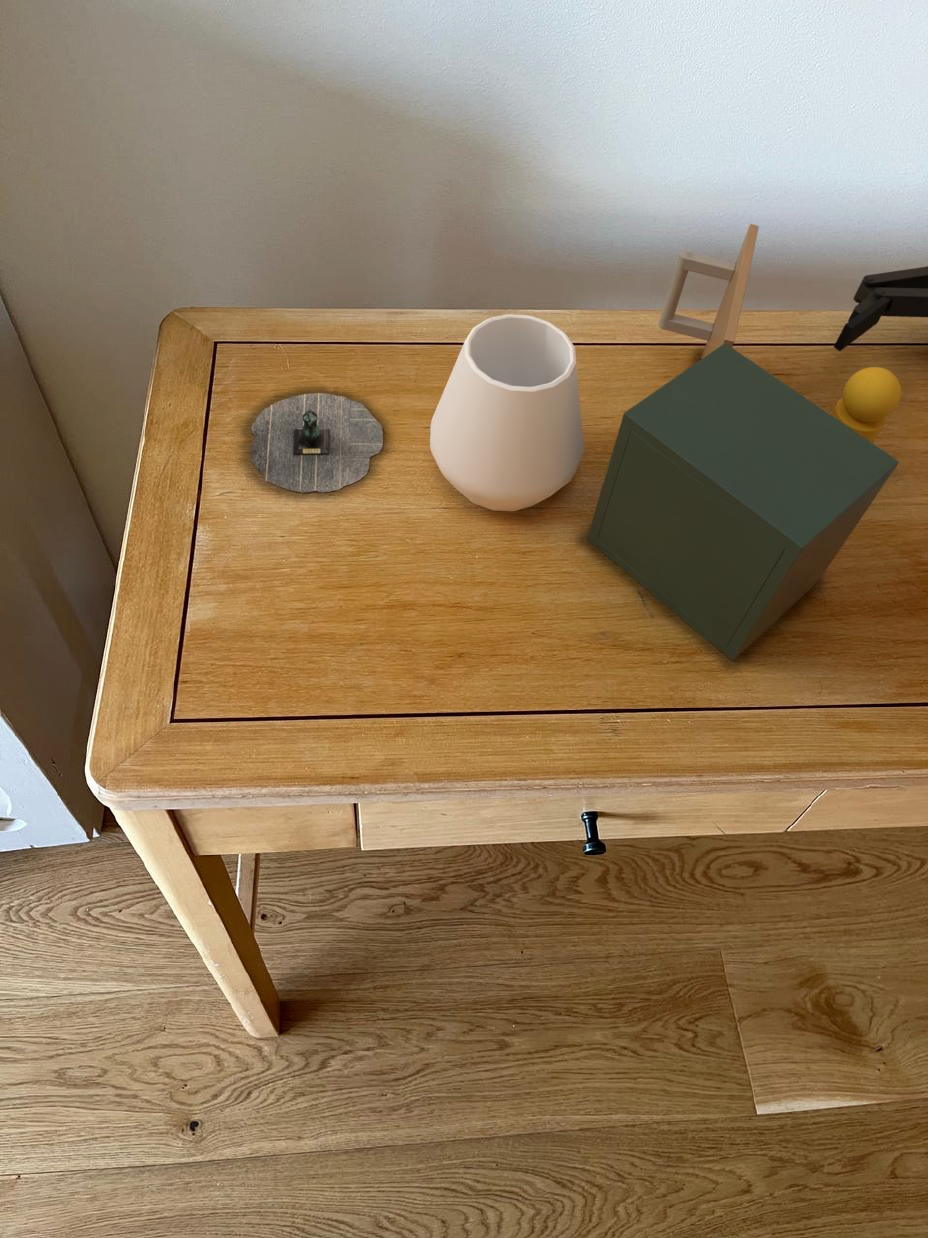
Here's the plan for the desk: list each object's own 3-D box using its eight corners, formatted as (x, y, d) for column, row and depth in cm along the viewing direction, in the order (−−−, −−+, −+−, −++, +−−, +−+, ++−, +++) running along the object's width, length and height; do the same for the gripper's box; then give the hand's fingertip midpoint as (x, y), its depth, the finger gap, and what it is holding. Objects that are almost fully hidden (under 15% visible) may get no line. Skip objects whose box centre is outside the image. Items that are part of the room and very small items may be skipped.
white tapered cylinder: (397, 481, 82) (398, 359, 70) (481, 396, 88) (495, 271, 76) (525, 556, 78) (549, 440, 67) (602, 461, 85) (637, 341, 73)
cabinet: (674, 472, 85) (725, 342, 72) (818, 581, 79) (899, 461, 66) (586, 539, 80) (623, 412, 67) (732, 661, 74) (802, 548, 61)
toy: (863, 460, 87) (919, 372, 78) (843, 489, 85) (898, 401, 76) (819, 437, 88) (869, 347, 79) (798, 465, 86) (847, 376, 77)
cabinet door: (621, 451, 85) (660, 322, 73) (652, 341, 94) (693, 209, 82) (684, 468, 85) (734, 341, 72) (710, 356, 93) (759, 225, 81)
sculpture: (291, 515, 79) (248, 429, 76) (263, 505, 87) (224, 427, 84) (408, 454, 83) (372, 369, 80) (371, 450, 91) (337, 373, 88)
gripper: (1108, 381, 92) (1002, 485, 83) (895, 255, 101) (779, 337, 92) (1161, 319, 86) (1053, 425, 77) (928, 191, 94) (808, 273, 86)
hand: (903, 378), depth 84 cm, fingers open, 13 cm apart
